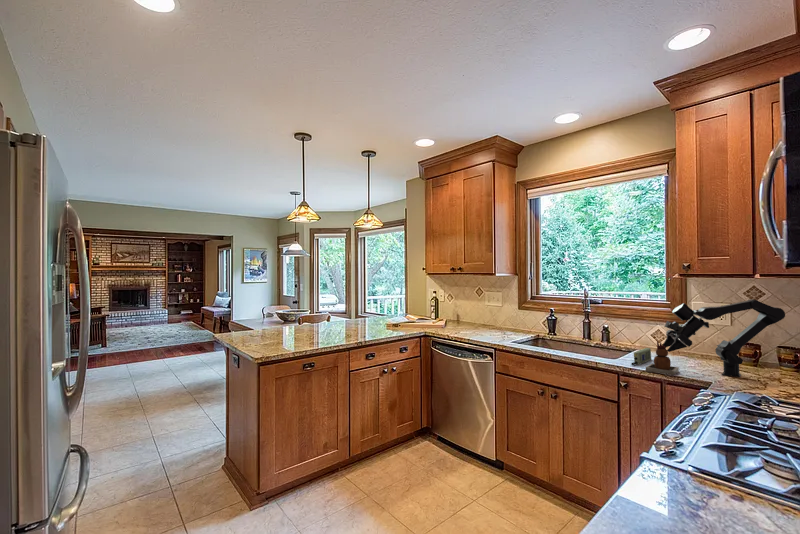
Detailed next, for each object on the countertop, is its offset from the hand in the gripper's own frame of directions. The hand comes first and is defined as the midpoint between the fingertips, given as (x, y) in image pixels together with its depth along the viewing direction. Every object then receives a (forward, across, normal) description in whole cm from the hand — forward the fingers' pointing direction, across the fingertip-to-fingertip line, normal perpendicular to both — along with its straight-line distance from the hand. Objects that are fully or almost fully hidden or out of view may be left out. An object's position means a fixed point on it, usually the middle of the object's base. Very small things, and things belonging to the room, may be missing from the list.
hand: (665, 349), depth 190 cm
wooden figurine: (+9, 0, +7) cm, 11 cm away
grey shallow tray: (+9, 0, +6) cm, 11 cm away
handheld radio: (+12, -20, +4) cm, 24 cm away
